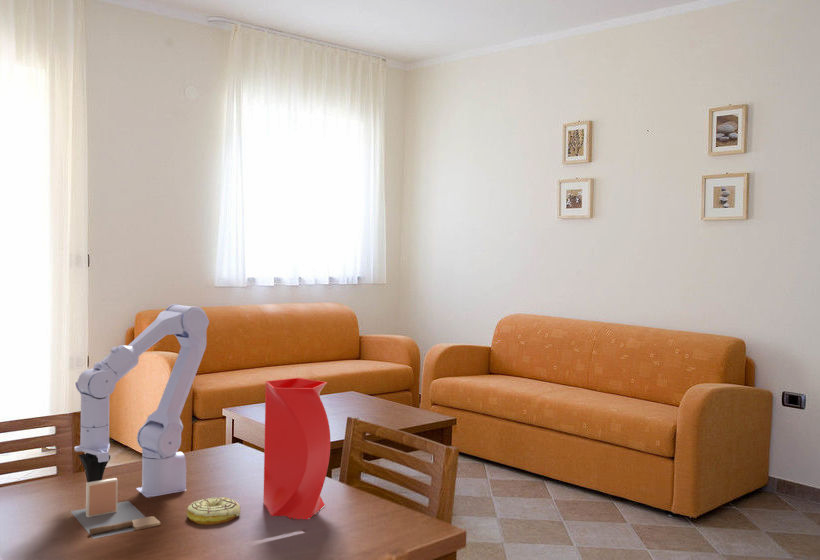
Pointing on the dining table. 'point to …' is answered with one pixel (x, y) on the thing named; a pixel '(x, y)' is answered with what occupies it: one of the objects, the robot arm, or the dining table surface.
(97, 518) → the mat
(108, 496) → the tile
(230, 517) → the decorated donut
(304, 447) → the vase
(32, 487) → the dining table surface
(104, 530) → the turner
